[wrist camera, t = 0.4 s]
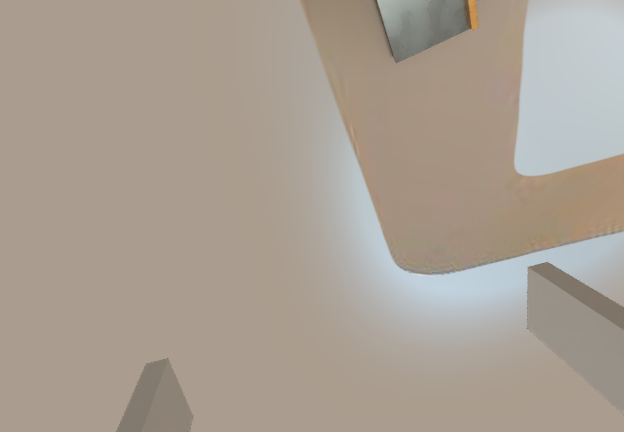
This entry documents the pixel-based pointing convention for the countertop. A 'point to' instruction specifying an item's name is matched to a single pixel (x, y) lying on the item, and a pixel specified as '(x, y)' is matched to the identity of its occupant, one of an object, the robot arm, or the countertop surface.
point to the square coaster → (424, 23)
